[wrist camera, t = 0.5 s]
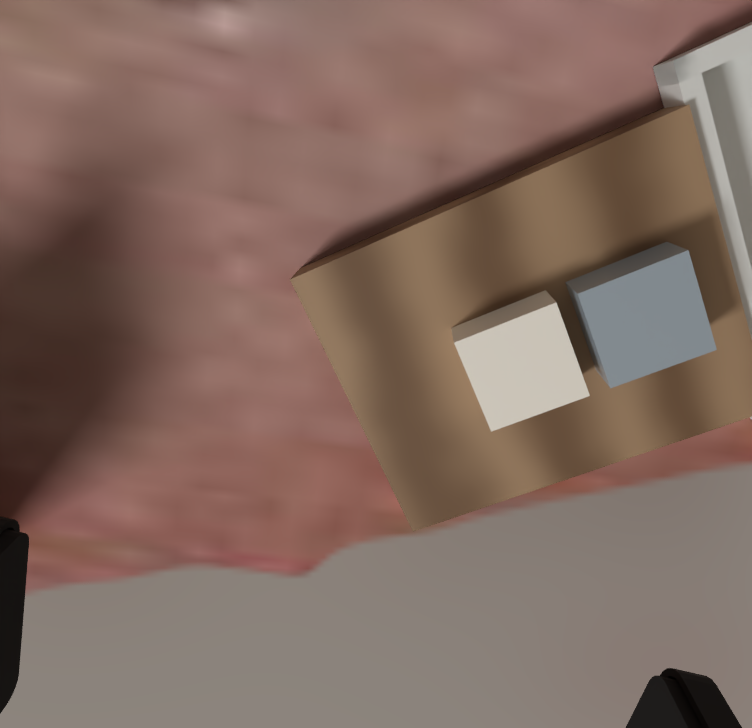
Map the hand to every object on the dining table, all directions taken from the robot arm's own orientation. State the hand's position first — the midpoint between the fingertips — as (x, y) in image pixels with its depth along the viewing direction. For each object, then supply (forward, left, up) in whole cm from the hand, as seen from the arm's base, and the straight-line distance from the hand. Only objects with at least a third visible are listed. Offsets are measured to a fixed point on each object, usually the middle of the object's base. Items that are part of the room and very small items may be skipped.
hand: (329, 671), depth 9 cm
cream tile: (-5, +5, -24) cm, 25 cm away
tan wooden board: (-6, +5, -27) cm, 28 cm away
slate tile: (-11, +5, -24) cm, 26 cm away
